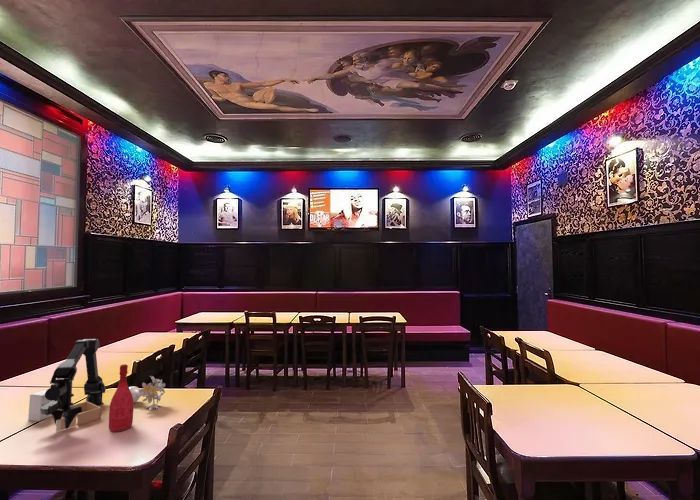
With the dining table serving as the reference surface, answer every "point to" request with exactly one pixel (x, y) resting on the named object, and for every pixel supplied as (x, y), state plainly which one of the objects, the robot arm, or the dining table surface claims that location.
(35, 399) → the supplement box
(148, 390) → the flower vase
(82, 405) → the carton
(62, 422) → the flap
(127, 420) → the wine bottle
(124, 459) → the dining table surface
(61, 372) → the robot arm
